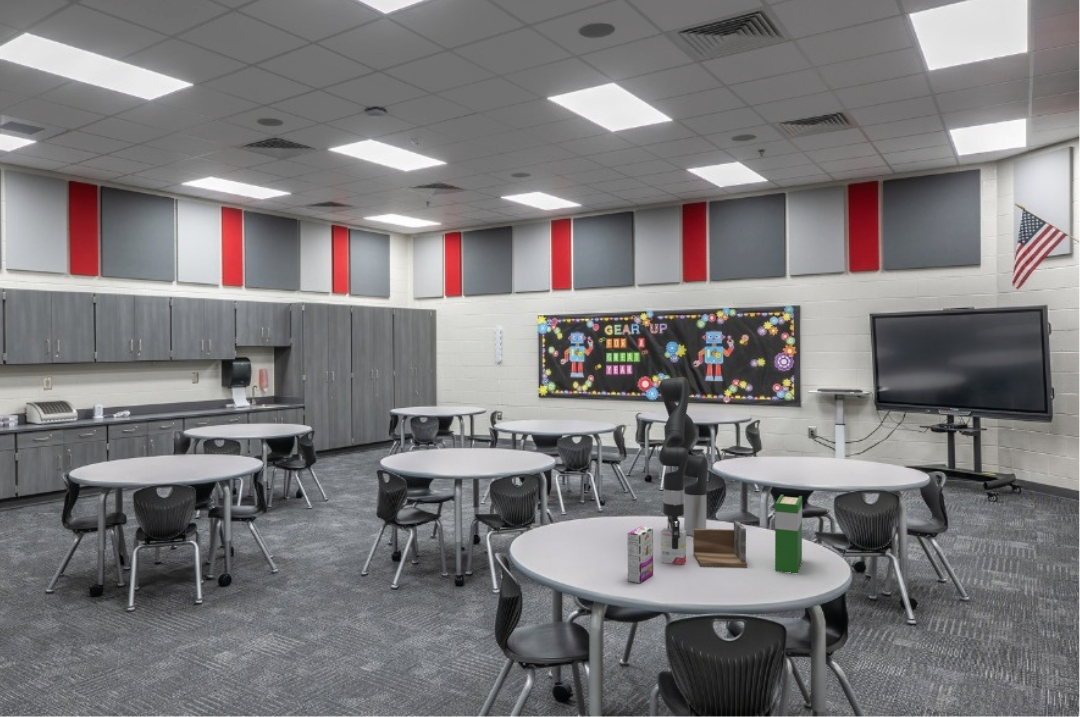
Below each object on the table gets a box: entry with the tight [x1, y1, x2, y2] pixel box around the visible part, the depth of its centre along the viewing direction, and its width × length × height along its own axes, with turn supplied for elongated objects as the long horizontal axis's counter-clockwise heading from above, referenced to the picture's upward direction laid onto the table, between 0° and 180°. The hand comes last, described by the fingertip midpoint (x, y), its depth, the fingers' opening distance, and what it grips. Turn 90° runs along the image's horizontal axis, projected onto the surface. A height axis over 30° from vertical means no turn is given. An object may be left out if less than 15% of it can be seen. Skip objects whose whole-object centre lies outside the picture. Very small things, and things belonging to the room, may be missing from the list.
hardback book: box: [774, 494, 803, 574], centre depth 249 cm, size 18×7×24 cm, turn 155°
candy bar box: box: [626, 525, 654, 584], centre depth 233 cm, size 11×5×16 cm, turn 148°
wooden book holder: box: [692, 520, 748, 569], centre depth 254 cm, size 15×16×14 cm
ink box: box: [660, 527, 687, 566], centre depth 253 cm, size 9×5×12 cm, turn 65°
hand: (673, 545), depth 253 cm, fingers open, 8 cm apart
